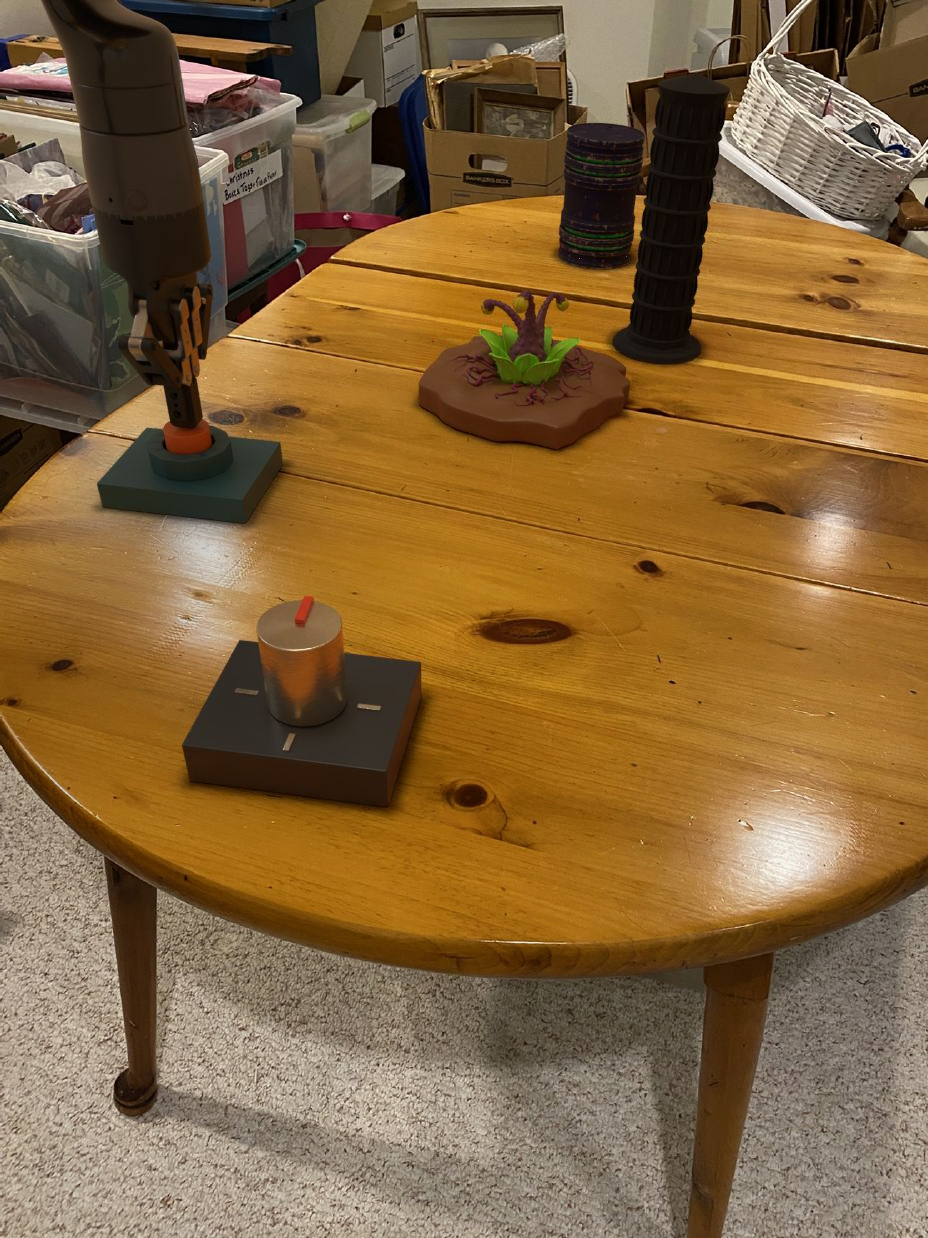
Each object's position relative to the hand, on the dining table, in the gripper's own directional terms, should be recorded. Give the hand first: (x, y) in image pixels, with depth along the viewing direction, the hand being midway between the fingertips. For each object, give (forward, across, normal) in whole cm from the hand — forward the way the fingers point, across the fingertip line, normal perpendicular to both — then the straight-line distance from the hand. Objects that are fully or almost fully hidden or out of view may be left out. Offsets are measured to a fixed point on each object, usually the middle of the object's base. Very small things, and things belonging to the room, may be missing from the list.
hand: (187, 423), depth 83 cm
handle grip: (+6, -40, +38) cm, 55 cm away
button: (+2, 0, 0) cm, 2 cm away
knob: (+3, +28, +18) cm, 33 cm away
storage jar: (+6, -68, +29) cm, 74 cm away
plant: (+6, -23, +25) cm, 34 cm away
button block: (+6, 0, 0) cm, 6 cm away
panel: (+6, +28, +18) cm, 34 cm away
